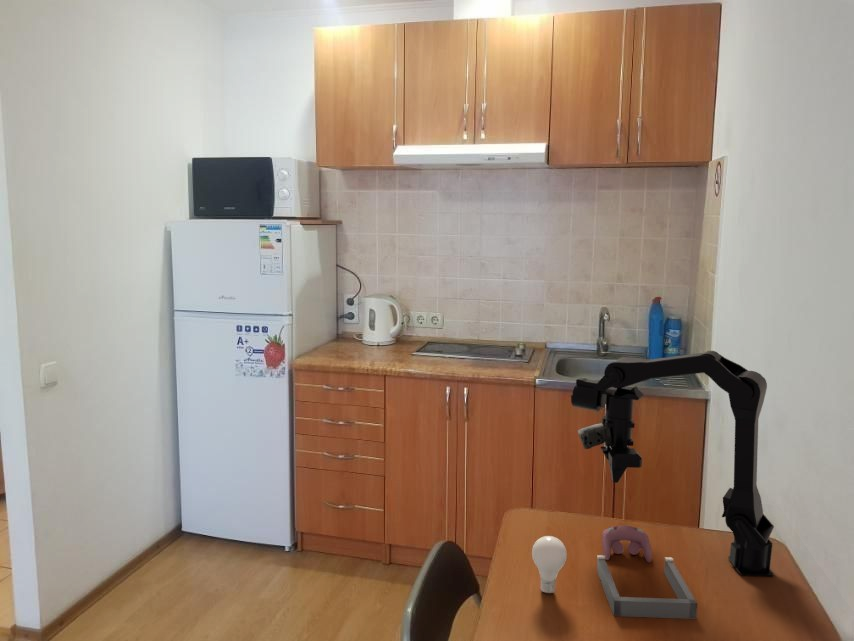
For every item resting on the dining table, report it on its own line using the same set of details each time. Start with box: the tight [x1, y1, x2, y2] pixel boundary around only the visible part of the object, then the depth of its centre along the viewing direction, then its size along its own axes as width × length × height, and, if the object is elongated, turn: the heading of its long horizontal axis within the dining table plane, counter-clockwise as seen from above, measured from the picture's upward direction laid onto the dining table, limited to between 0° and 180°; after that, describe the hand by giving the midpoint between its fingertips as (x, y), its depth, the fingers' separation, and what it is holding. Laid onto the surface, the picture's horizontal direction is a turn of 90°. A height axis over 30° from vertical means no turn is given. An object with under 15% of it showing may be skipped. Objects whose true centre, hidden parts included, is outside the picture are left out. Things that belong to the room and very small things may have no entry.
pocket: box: [596, 554, 698, 620], centre depth 125 cm, size 15×15×3 cm
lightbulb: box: [531, 535, 568, 594], centre depth 124 cm, size 6×6×11 cm
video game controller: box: [601, 525, 653, 563], centre depth 139 cm, size 10×5×7 cm, turn 85°
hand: (615, 482), depth 149 cm, fingers closed
